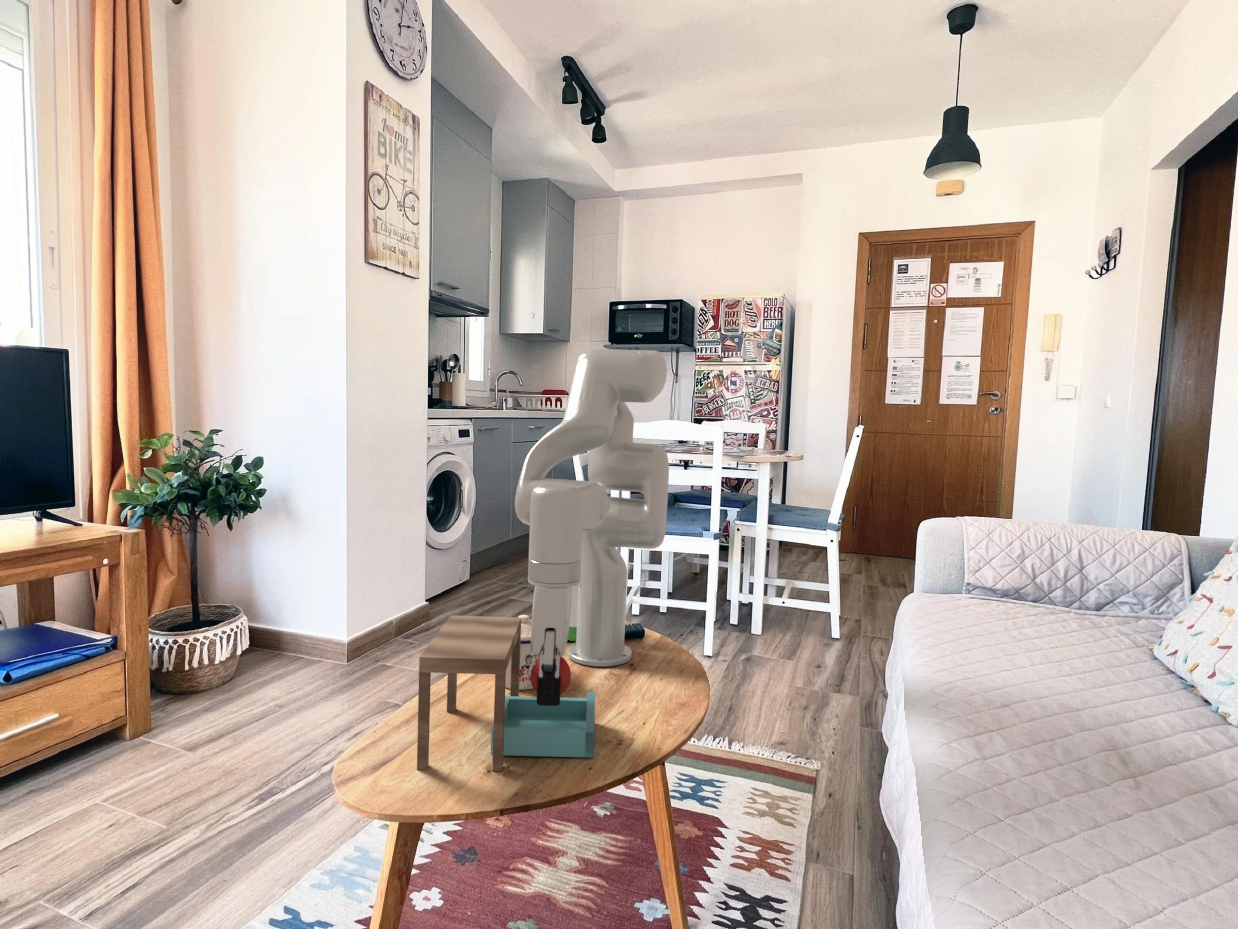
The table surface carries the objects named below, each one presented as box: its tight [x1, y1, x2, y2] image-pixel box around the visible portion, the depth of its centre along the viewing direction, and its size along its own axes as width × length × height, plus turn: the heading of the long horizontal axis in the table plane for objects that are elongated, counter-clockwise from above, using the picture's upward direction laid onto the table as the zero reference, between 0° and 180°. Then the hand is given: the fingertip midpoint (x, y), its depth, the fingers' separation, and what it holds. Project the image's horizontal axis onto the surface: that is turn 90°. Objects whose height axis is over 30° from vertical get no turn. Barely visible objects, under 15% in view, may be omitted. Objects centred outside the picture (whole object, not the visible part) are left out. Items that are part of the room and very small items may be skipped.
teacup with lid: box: [505, 614, 544, 691], centre depth 116 cm, size 12×9×12 cm
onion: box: [531, 651, 572, 696], centre depth 93 cm, size 6×6×8 cm
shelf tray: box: [490, 691, 596, 758], centre depth 94 cm, size 11×14×4 cm
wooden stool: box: [416, 615, 521, 772], centre depth 93 cm, size 18×11×15 cm, turn 2°
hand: (550, 693), depth 94 cm, fingers closed on onion, 5 cm apart
